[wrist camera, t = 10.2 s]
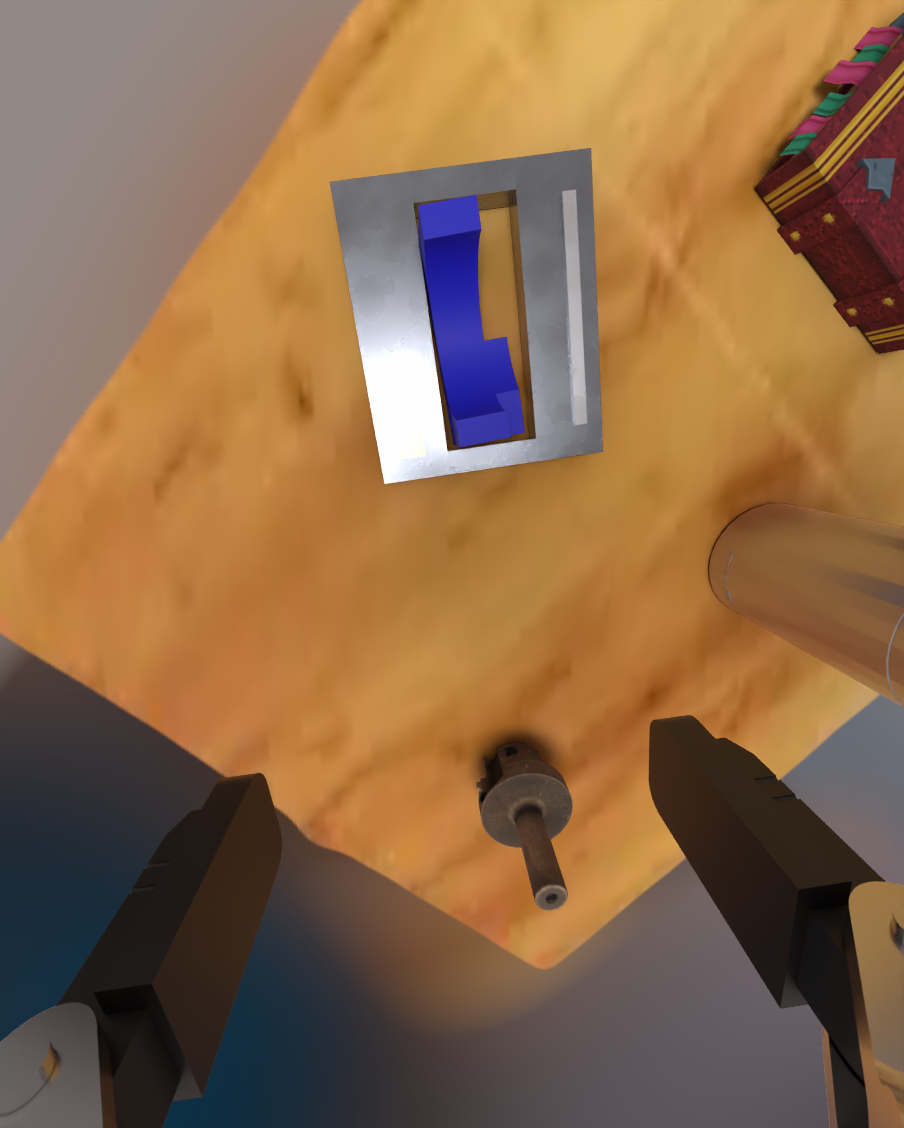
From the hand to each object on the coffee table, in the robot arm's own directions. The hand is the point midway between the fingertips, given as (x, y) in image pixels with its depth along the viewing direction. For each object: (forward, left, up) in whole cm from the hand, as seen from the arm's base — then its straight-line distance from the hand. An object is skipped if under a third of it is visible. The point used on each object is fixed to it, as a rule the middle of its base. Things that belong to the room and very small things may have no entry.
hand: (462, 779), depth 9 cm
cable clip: (-4, -12, -25) cm, 28 cm away
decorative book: (-32, -17, -25) cm, 44 cm away
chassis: (-5, -13, -25) cm, 28 cm away
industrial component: (-4, +23, -25) cm, 34 cm away
